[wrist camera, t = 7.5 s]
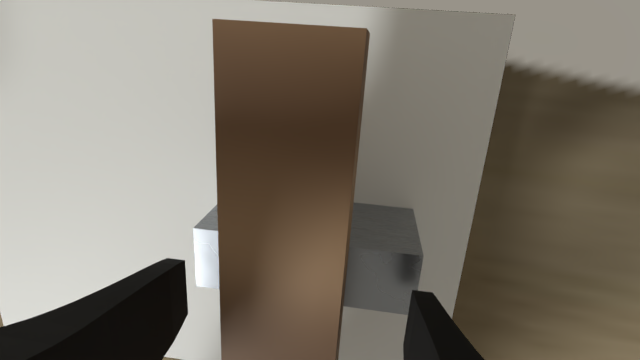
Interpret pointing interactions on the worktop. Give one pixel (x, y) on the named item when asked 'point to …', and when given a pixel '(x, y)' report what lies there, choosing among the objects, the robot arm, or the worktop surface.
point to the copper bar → (285, 183)
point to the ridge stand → (200, 154)
